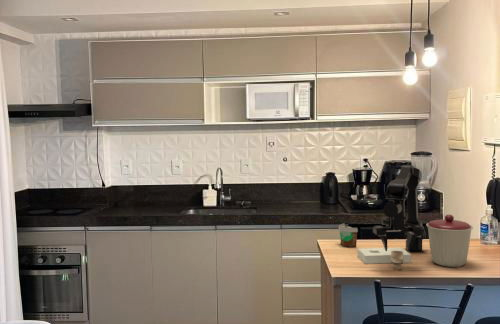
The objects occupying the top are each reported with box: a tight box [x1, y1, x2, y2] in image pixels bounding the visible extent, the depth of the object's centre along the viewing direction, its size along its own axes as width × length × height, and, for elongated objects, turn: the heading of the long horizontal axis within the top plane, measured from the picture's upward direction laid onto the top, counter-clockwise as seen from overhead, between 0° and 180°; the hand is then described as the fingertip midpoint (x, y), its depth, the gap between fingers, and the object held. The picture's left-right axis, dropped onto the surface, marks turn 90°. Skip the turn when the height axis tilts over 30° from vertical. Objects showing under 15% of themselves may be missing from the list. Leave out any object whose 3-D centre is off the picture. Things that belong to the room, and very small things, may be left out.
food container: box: [338, 223, 359, 249], centre depth 224 cm, size 12×6×10 cm, turn 21°
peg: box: [390, 251, 404, 271], centre depth 185 cm, size 5×5×7 cm
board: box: [357, 247, 412, 265], centre depth 199 cm, size 20×12×4 cm, turn 92°
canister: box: [425, 214, 474, 268], centre depth 190 cm, size 18×18×21 cm
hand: (397, 250), depth 185 cm, fingers open, 9 cm apart
